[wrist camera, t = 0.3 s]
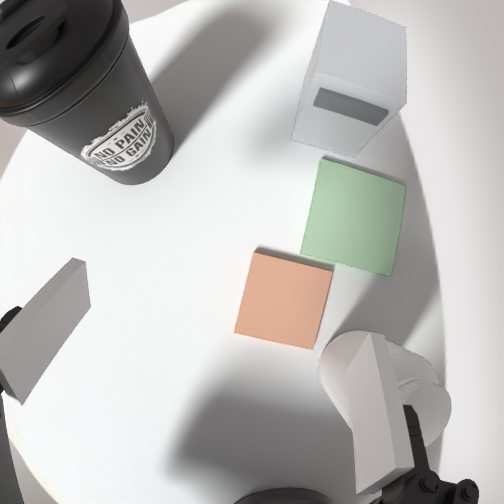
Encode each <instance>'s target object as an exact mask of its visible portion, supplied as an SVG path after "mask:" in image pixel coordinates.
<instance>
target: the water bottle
mask: <svg viewBox="0 0 504 504" xmlns="http://www.w3.org/2000/svg"><path fill="white" fill-rule="evenodd" d="M0 118H1V119H3V120H4V121H6V122H7V123H9V124H12V125H16V126H20V127H26V128H28V129H29V130H31V131H33V132H34V133H36V134H38V135H39V136H41V137H43V138H44V139H46V140H48V141H49V142H51V143H53V144H54V145H56V146H58V147H59V148H61V149H63V150H64V151H66V152H68V153H69V154H71V155H73V156H74V157H76V158H78V159H80V160H81V161H83V162H85V163H86V164H88V165H90V166H91V167H93V168H95V169H96V170H98V171H100V172H101V173H103V174H105V175H106V176H108V177H110V178H111V179H113V180H115V181H117V182H119V183H121V184H125V185H137V184H142V183H145V182H147V181H149V180H151V179H153V178H154V177H156V176H157V175H158V174H159V173H160V172H161V171H162V170H163V169H164V168H165V166H166V165H167V164H168V162H169V160H170V158H171V155H172V152H173V146H174V140H173V134H172V131H171V129H170V127H169V125H168V122H167V120H166V118H165V116H164V113H163V111H162V109H161V107H160V104H159V102H158V100H157V98H156V95H155V93H154V91H153V88H152V86H151V84H150V81H149V79H148V77H147V75H146V72H145V70H144V68H143V65H142V63H141V61H140V58H139V56H138V54H137V51H136V49H135V46H134V44H133V42H132V39H131V37H130V35H129V20H128V16H127V13H126V11H125V9H124V6H123V4H122V2H121V0H5V1H3V2H2V3H1V4H0Z"/></svg>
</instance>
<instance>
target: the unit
mask: <svg viewBox="0 0 504 504" xmlns="http://www.w3.org/2000/svg"><path fill="white" fill-rule="evenodd" d="M406 50H407V49H406V27H404V26H402V25H399V24H397V23H395V22H392V21H389V20H387V19H385V18H382V17H380V16H377V15H374V14H371V13H369V12H366V11H363V10H360V9H357V8H354V7H351V6H348V5H345V4H342V3H338V2H335V1H331V0H329V3H328V7H327V10H326V13H325V16H324V19H323V22H322V25H321V28H320V31H319V35H318V38H317V41H316V44H315V47H314V50H313V53H312V56H311V60H310V63H309V66H308V69H307V72H306V75H305V79H304V84H303V88H302V93H301V97H300V101H299V106H298V110H297V115H296V119H295V123H294V128H293V132H292V136H291V140H293V141H297V142H300V143H304V144H308V145H311V146H315V147H318V148H322V149H325V150H329V151H332V152H335V153H339V154H342V155H345V156H348V157H352V158H353V157H354V156H355V155H356V154H357V153H358V152H359V151H360V150H361V149H362V148H363V147H364V146H365V145H366V144H367V143H368V142H369V141H370V140H371V139H372V138H373V137H374V136H375V135H376V134H377V133H378V132H379V131H380V130H381V129H382V128H383V127H384V126H385V125H386V124H387V123H388V122H389V121H390V120H391V118H392V117H393V116H394V115H395V114H396V113H397V112H398V111H399V110H400V109H401V108H402V107H403V106H404V105H405V104H406V97H407V96H406V95H407V51H406Z"/></svg>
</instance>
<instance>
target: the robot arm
mask: <svg viewBox="0 0 504 504" xmlns="http://www.w3.org/2000/svg"><path fill="white" fill-rule="evenodd" d="M90 307H91V305H90V297H89V289H88V281H87V271H86V262H85V261H82V260H79V259H76V258H72V259H71V260H70V261H69V262H68V263H67V264H65V265H64V266H63V267H62V268H61V269H60V270H59V271H58V272H57V273H56V274H55V275H54V276H53V277H52V278H51V279H50V280H49V281H48V282H47V283H46V284H45V285H44V286H43V287H42V288H41V289H40V290H39V291H38V293H37V294H36V295H35V296H34V297H33V298H32V299H31V300H30V301H29V302H28V303H27V304H26V305H25V306H24V307H23V308H21V307H19V306H17V307H15V308H13V309H11V310H10V311H8V312H7V313H6V314H5V315H4V316H3V317H2V318H1V321H0V504H24V501H23V498H22V495H21V492H20V488H19V484H18V481H17V477H16V473H15V469H14V465H13V460H12V456H11V451H10V446H9V440H8V435H7V429H6V422H5V415H4V407H3V399H2V396H1V393H2V392H3V390H4V391H5V392H6V394H7V395H8V397H9V398H10V399H12V400H14V401H15V402H17V403H18V404H20V405H23V404H24V402H25V400H26V399H27V397H28V396H29V394H30V393H31V391H32V389H33V388H34V386H35V385H36V383H37V382H38V380H39V379H40V377H41V376H42V374H43V373H44V371H45V370H46V368H47V367H48V365H49V364H50V362H51V361H52V360H53V358H54V357H55V355H56V354H57V352H58V351H59V350H60V348H61V347H62V345H63V344H64V342H65V341H66V340H67V338H68V337H69V336H70V334H71V333H72V331H73V330H74V329H75V327H76V326H77V325H78V323H79V322H80V321H81V319H82V318H83V317H84V315H85V314H86V313H87V311H88V310H89V309H90ZM346 375H347V384H348V392H349V402H350V411H351V422H352V433H353V446H354V460H355V476H356V494H374V493H376V492H378V491H379V490H381V489H382V496H380V497H378V498H377V499H375V500H373V501H372V502H371V503H369V504H374V503H375V504H478V498H479V490H478V487H477V485H476V483H475V482H474V481H472V480H471V479H465V480H462V481H460V482H459V483H457V484H454V483H450V482H445V481H442V480H440V478H439V476H438V475H437V474H436V473H435V472H434V471H431V470H430V468H429V465H428V460H427V455H426V450H425V445H424V440H423V437H422V431H421V428H420V422H419V418H418V415H417V413H416V412H415V410H414V408H413V407H412V405H402V400H401V396H400V392H399V388H398V384H397V380H396V376H395V372H394V368H393V364H392V360H391V356H390V353H389V349H388V346H387V342H386V338H385V335H384V334H380V333H374V332H369V334H368V336H367V337H366V339H365V341H364V342H363V344H362V346H361V347H360V349H359V351H358V352H357V354H356V356H355V357H354V359H353V360H352V362H351V364H350V365H349V367H348V368H347V370H346ZM235 504H333V503H332V502H331V501H330V500H329V499H328V498H327V497H325V496H324V495H322V494H320V493H317V492H314V491H311V490H306V489H299V488H280V489H272V490H267V491H262V492H259V493H255V494H252V495H250V496H248V497H245V498H243V499H241V500H240V501H238V502H237V503H235Z"/></svg>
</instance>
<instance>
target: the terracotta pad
mask: <svg viewBox="0 0 504 504" xmlns="http://www.w3.org/2000/svg"><path fill="white" fill-rule="evenodd" d="M331 277H332V271H328V270H324V269H320V268H316V267H312V266H308V265H304V264H299V263H295V262H291V261H287V260H283V259H279V258H275V257H271V256H267V255H263V254H259V253H255V252H253V256H252V260H251V264H250V269H249V273H248V277H247V281H246V285H245V289H244V293H243V297H242V301H241V305H240V309H239V313H238V318H237V322H236V326H235V330H234V333H238V334H242V335H246V336H251V337H255V338H259V339H264V340H268V341H273V342H278V343H282V344H287V345H292V346H297V347H302V348H307V349H312V350H313V347H314V343H315V339H316V336H317V332H318V328H319V325H320V321H321V317H322V313H323V309H324V305H325V301H326V297H327V293H328V289H329V285H330V281H331Z"/></svg>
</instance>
